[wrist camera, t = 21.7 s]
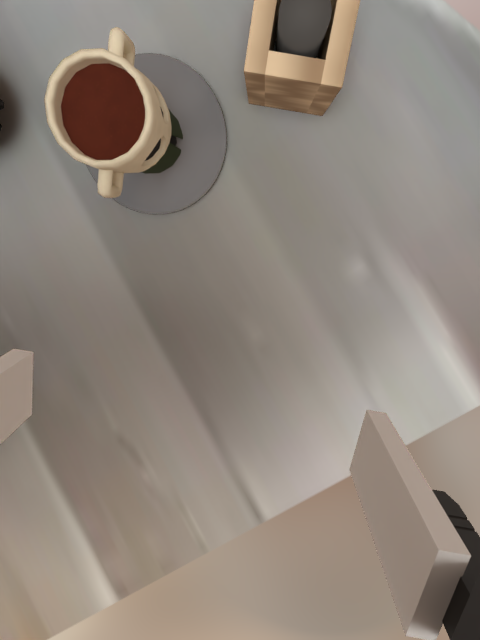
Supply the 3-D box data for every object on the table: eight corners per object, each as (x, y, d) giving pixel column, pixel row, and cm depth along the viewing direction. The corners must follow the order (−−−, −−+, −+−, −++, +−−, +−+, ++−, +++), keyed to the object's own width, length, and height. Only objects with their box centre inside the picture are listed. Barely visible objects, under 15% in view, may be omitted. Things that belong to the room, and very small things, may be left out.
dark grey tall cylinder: (271, 81, 36) (274, 38, 27) (278, 37, 35) (284, -23, 26) (309, 87, 36) (325, 47, 27) (317, 44, 35) (337, -14, 26)
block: (248, 103, 38) (243, 71, 29) (262, 17, 36) (261, -49, 27) (322, 115, 38) (341, 87, 29) (339, 30, 36) (366, -31, 27)
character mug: (180, 205, 40) (142, 207, 28) (109, 191, 40) (39, 187, 28) (196, 82, 37) (163, 22, 25) (119, 68, 37) (47, 0, 25)
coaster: (80, 201, 42) (75, 201, 41) (88, 46, 38) (83, 41, 37) (215, 224, 42) (214, 225, 40) (237, 71, 38) (236, 67, 36)
